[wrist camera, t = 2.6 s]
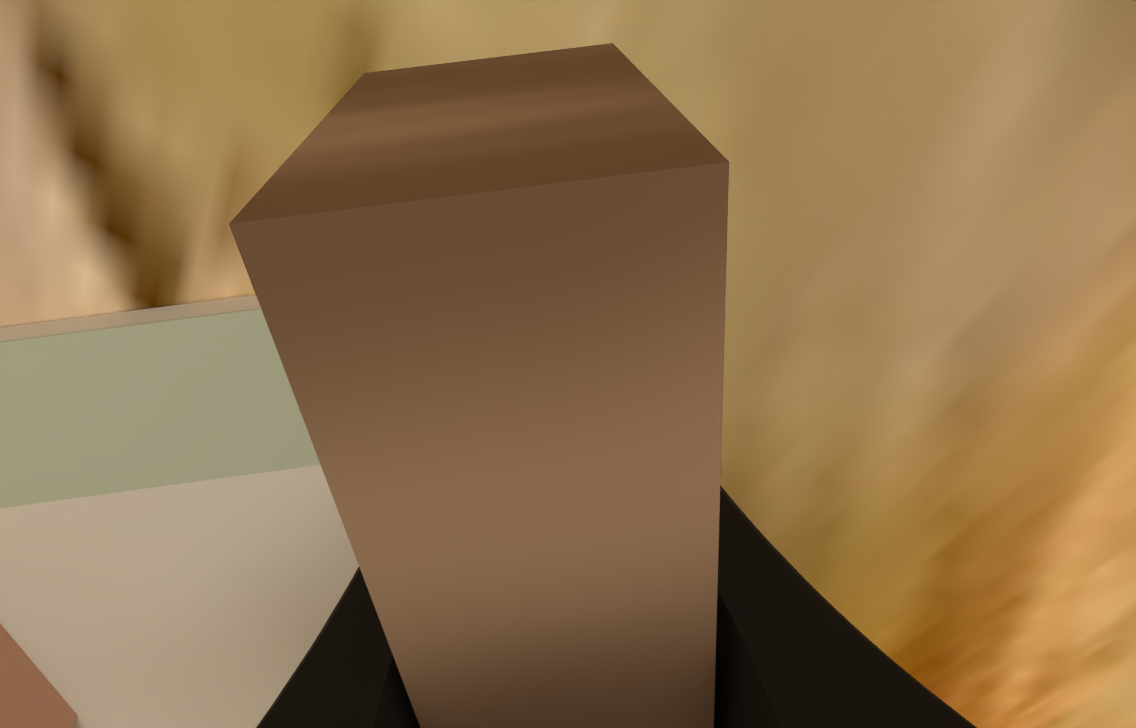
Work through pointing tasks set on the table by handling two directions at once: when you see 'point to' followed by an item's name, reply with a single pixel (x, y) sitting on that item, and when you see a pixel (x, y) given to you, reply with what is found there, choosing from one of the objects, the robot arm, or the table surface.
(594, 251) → the bar
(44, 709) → the tile
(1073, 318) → the table surface
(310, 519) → the board
